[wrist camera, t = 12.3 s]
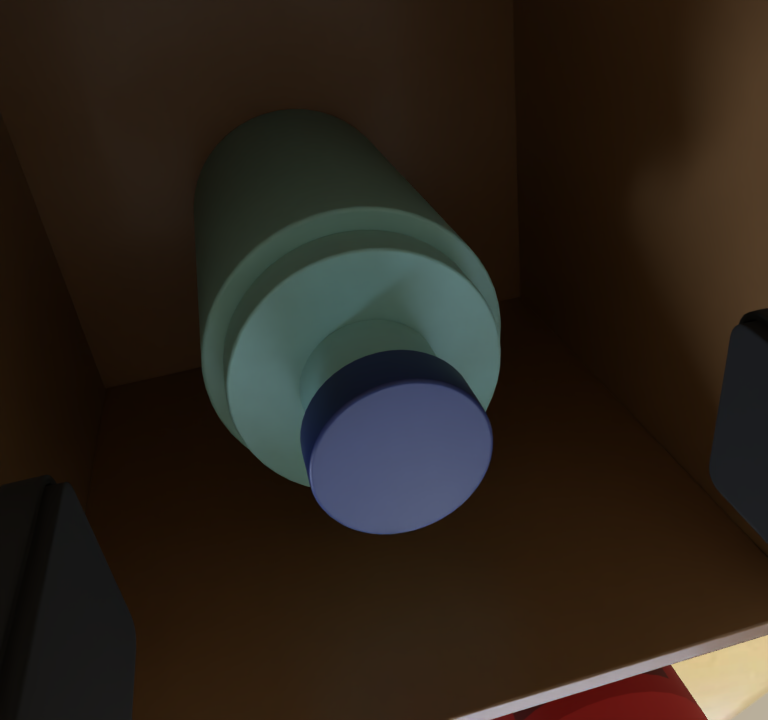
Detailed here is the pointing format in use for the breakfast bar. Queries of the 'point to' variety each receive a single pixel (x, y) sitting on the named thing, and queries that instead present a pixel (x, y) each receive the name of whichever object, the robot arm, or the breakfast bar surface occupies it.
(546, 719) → the canned food
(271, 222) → the bottle
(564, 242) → the carton
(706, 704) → the breakfast bar surface
